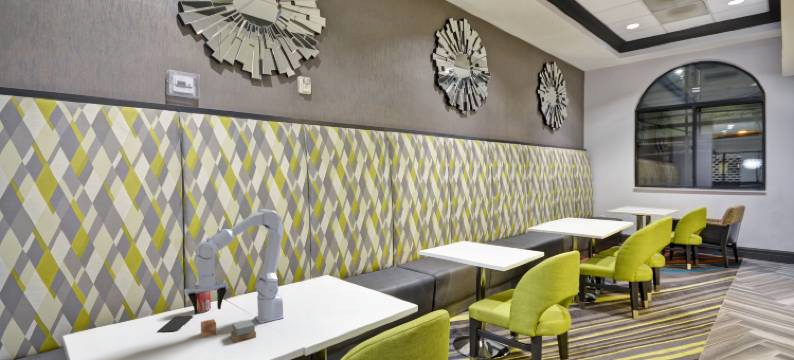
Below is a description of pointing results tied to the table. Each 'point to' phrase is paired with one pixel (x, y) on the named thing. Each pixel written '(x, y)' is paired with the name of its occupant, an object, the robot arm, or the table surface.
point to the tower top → (243, 327)
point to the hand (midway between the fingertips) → (207, 310)
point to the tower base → (242, 336)
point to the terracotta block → (208, 328)
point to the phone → (175, 324)
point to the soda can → (203, 301)
